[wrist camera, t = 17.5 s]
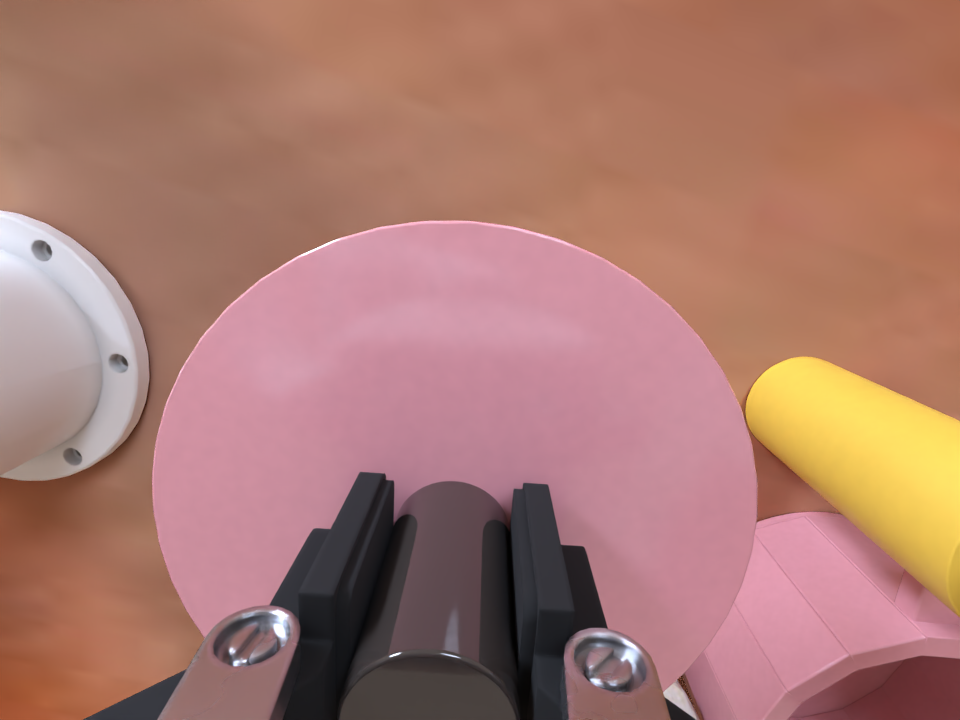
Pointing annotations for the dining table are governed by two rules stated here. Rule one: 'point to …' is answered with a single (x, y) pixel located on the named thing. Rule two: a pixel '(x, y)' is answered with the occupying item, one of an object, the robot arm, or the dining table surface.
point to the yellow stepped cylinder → (869, 461)
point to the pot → (828, 634)
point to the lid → (458, 453)
